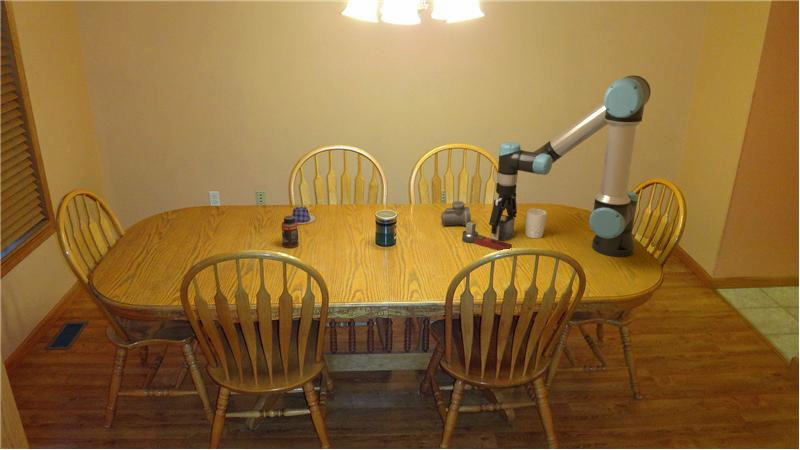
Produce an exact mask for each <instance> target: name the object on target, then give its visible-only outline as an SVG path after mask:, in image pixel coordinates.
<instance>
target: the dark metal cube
mask: <svg viewBox="0 0 800 450" xmlns="http://www.w3.org/2000/svg"><path fill="white" fill-rule="evenodd" d="M515 220H516V219H515V217H510V216H508V215H505V214H502V216H501V219H500V222H499V225H498V226H499V236H498V241H502V242H507V241H508V240H510V239H512V238H513V237H514V229H515ZM491 234H492V227H491V229H490V235H491Z"/></svg>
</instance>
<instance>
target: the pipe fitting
mask: <svg viewBox="0 0 800 450" xmlns="http://www.w3.org/2000/svg"><path fill="white" fill-rule="evenodd" d="M465 205H466V204H465V202H464V201H461V200H457V201H456V200H455V201H454V202H452V203H451V206H452V207H446V208H445V209H444V211H442V212H441V215H440V216H441V217H440V218H441V224H442V226H444V227H445V226H446V227H447V226H455V225H456V226H457V225H463V226H465V227H466V224H467V223H468V222H472V217H471V216H472V215H471V211H470V207H469V206H465Z"/></svg>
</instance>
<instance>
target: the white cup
mask: <svg viewBox="0 0 800 450" xmlns="http://www.w3.org/2000/svg"><path fill="white" fill-rule="evenodd" d="M525 212H526V213H525V236H526V237H528V238H530V239H541V238H542V237H543V235H544V231H545V225H546V220H547V216H548V215H547V214H548V212H547V211H546V210H544V209H541V208H529V209H528V208H527V210H526V211H525Z"/></svg>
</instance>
